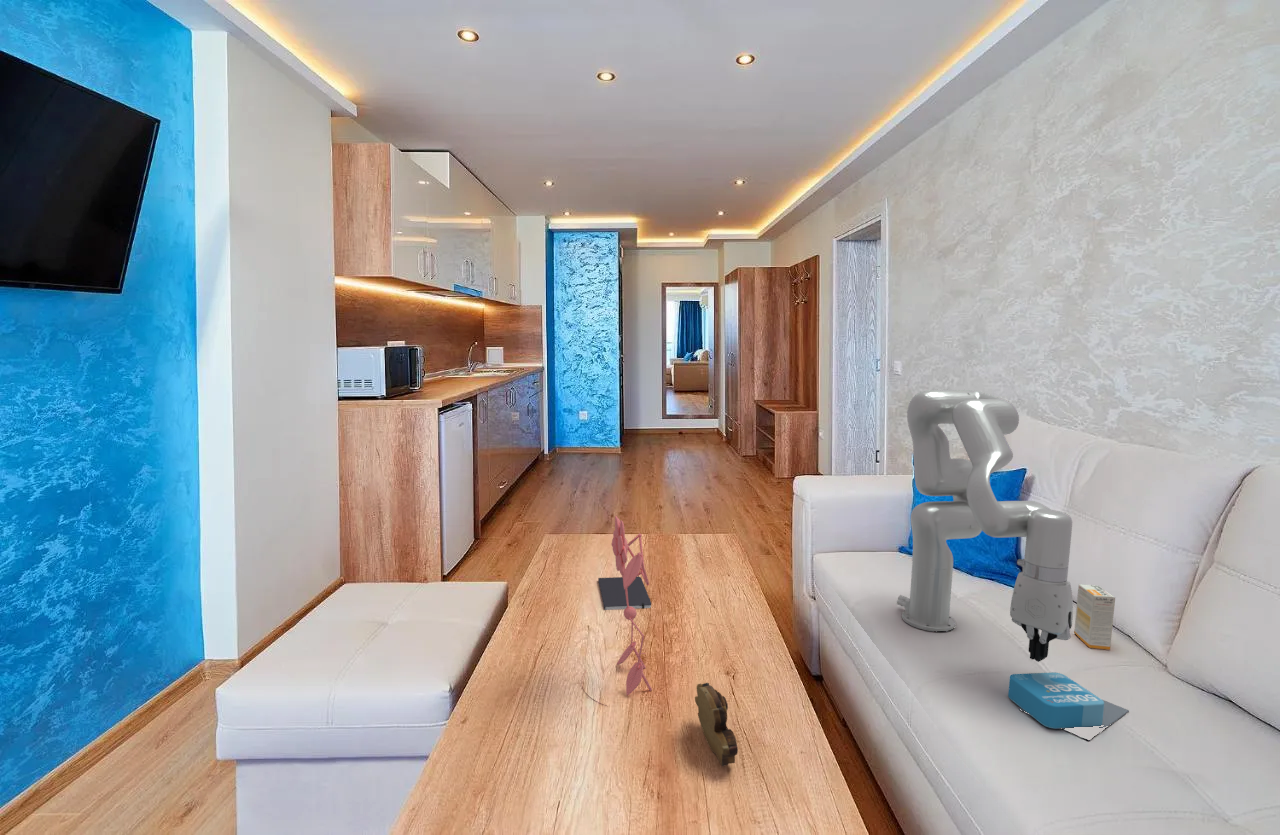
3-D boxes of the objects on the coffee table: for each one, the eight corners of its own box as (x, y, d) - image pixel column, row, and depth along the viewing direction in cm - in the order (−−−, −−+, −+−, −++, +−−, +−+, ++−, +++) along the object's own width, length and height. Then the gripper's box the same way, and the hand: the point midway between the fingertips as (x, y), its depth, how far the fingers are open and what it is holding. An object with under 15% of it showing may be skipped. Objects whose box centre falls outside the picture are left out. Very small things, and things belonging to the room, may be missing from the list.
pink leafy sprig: (643, 649, 148) (643, 500, 144) (662, 713, 123) (662, 534, 119) (576, 654, 146) (574, 503, 142) (581, 719, 121) (579, 538, 117)
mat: (1019, 710, 126) (1019, 708, 126) (1061, 684, 136) (1061, 683, 136) (1088, 741, 116) (1088, 740, 116) (1128, 711, 126) (1129, 710, 126)
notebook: (598, 582, 191) (604, 612, 170) (598, 577, 191) (604, 606, 170) (640, 581, 193) (652, 610, 172) (640, 576, 193) (652, 604, 172)
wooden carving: (747, 773, 106) (749, 716, 105) (721, 778, 104) (723, 720, 103) (708, 718, 121) (710, 667, 120) (686, 721, 120) (687, 670, 119)
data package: (1060, 671, 132) (1109, 703, 120) (1058, 692, 132) (1106, 726, 121) (1005, 673, 131) (1049, 706, 119) (1004, 694, 131) (1047, 729, 119)
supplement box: (1111, 650, 152) (1117, 597, 151) (1088, 648, 153) (1094, 595, 152) (1094, 635, 160) (1099, 584, 159) (1072, 633, 161) (1077, 583, 160)
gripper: (997, 564, 133) (991, 648, 135) (1078, 586, 121) (1069, 679, 123) (1016, 558, 138) (1009, 640, 140) (1095, 579, 125) (1087, 669, 127)
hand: (1037, 658), depth 131 cm, fingers closed
